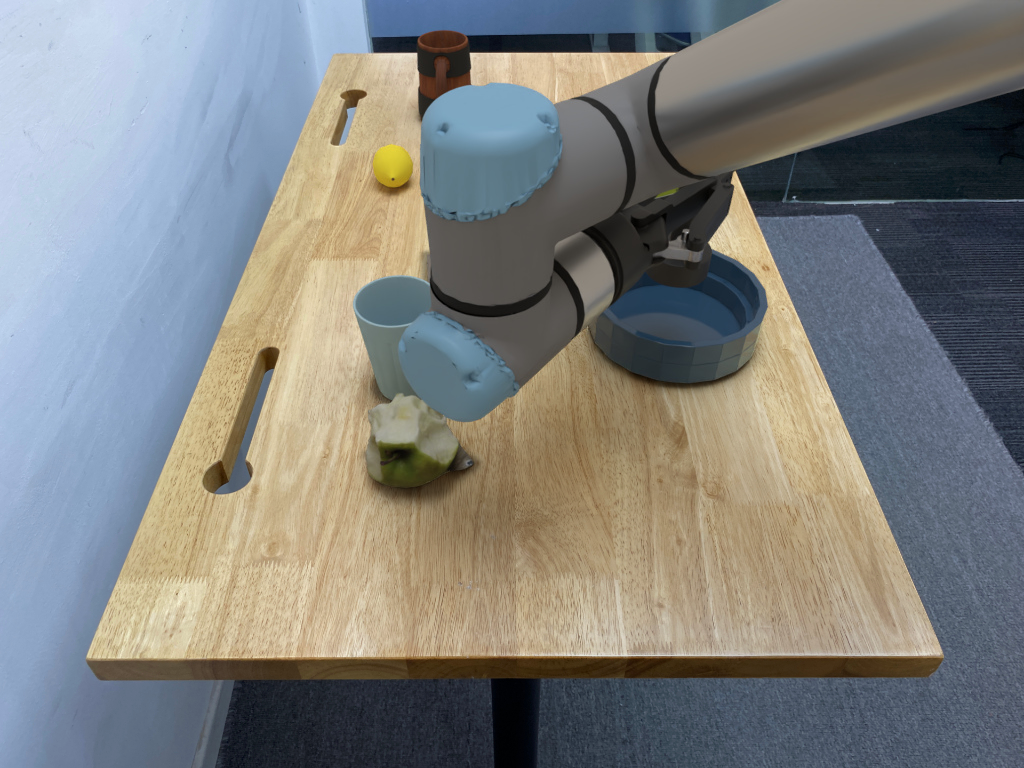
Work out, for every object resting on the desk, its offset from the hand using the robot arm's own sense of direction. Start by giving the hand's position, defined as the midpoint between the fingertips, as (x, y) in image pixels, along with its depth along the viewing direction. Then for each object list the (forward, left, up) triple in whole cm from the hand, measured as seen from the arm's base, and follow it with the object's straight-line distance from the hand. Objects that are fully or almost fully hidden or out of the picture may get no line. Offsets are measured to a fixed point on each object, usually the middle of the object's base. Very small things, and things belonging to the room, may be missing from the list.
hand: (722, 150), depth 70 cm
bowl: (-2, +2, -20) cm, 20 cm away
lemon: (+24, +39, -20) cm, 50 cm away
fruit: (-24, +25, -20) cm, 40 cm away
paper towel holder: (-5, +3, -10) cm, 11 cm away
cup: (-14, +28, -20) cm, 37 cm away
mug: (+44, +36, -20) cm, 60 cm away
